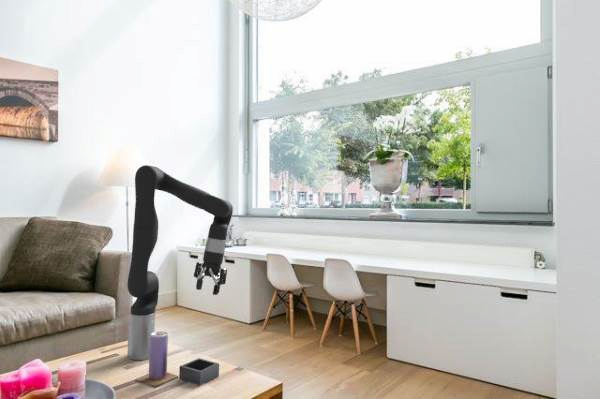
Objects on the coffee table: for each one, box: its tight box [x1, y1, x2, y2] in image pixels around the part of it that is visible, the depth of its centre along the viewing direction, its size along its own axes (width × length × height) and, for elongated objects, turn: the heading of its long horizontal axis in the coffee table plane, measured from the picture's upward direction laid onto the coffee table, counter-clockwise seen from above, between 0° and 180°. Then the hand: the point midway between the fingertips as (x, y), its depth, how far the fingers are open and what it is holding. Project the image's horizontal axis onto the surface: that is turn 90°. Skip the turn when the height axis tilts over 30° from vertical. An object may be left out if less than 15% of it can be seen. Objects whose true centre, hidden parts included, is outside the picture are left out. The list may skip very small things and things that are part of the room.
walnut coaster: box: [135, 372, 179, 388], centre depth 151 cm, size 10×10×1 cm
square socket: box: [178, 357, 220, 386], centre depth 153 cm, size 10×10×4 cm
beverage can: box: [148, 331, 169, 380], centre depth 151 cm, size 6×6×15 cm
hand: (206, 292), depth 168 cm, fingers open, 8 cm apart
